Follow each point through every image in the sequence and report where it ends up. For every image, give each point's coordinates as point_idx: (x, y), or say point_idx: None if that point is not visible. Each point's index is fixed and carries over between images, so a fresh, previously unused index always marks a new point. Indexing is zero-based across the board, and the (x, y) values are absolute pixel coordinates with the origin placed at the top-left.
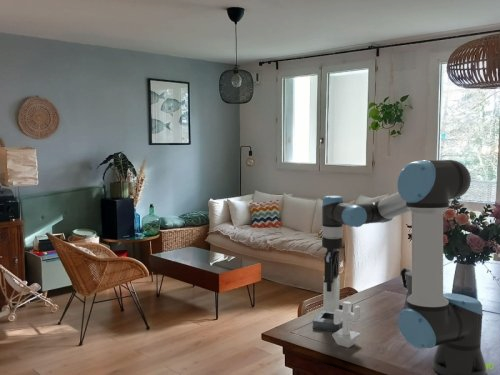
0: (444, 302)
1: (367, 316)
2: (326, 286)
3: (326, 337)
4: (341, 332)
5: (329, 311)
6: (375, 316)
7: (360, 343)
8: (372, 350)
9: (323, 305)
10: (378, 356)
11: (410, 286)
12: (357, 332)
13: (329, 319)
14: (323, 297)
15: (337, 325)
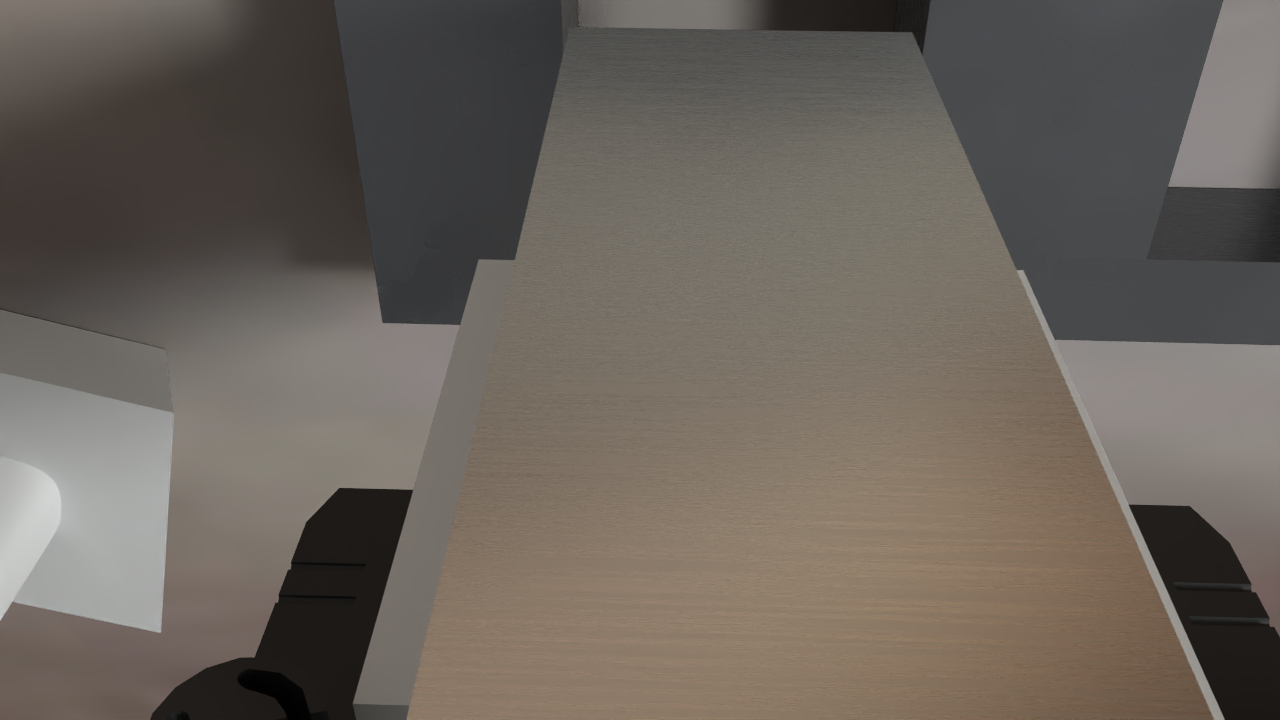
0: None
1: (1260, 489)
2: (399, 572)
3: (109, 109)
4: (5, 434)
5: (1043, 5)
6: (1274, 572)
7: (215, 528)
8: (113, 641)
9: (558, 86)
10: (13, 693)
11: None
12: (162, 601)
13: (548, 115)
14: (531, 192)
15: (382, 283)
